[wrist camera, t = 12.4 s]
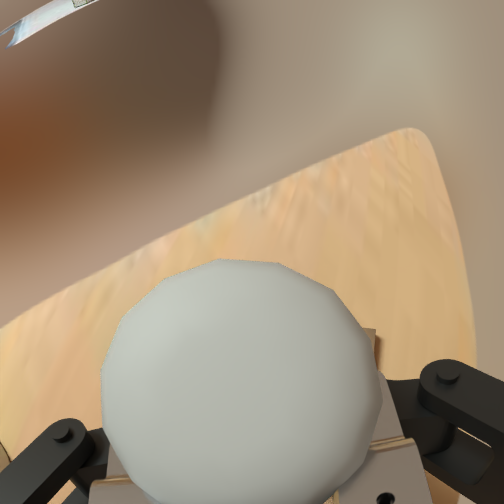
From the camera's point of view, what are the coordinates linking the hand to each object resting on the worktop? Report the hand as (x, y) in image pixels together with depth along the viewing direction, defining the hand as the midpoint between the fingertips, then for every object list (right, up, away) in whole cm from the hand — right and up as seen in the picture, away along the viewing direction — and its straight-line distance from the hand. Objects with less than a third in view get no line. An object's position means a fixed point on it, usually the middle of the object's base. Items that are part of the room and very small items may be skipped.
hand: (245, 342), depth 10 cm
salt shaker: (+1, -5, +5) cm, 7 cm away
